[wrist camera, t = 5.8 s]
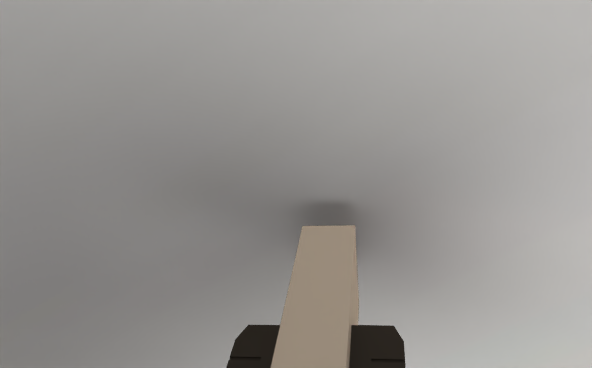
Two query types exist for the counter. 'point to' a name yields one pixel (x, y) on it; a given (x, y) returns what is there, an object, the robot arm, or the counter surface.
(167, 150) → the counter surface
